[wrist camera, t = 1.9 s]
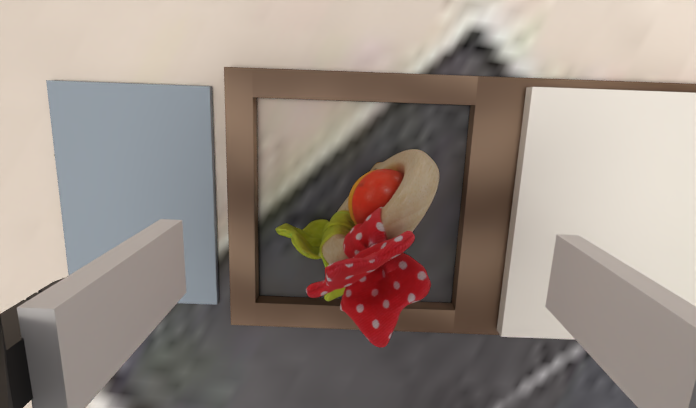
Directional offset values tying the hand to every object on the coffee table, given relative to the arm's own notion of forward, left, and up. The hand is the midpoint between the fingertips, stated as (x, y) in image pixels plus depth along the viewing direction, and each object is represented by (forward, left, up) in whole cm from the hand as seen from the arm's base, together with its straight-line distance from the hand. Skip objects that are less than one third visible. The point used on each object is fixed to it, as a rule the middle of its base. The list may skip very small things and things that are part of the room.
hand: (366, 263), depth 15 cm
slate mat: (0, +13, -11) cm, 17 cm away
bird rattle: (0, 0, -11) cm, 11 cm away
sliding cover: (0, -15, -9) cm, 18 cm away
